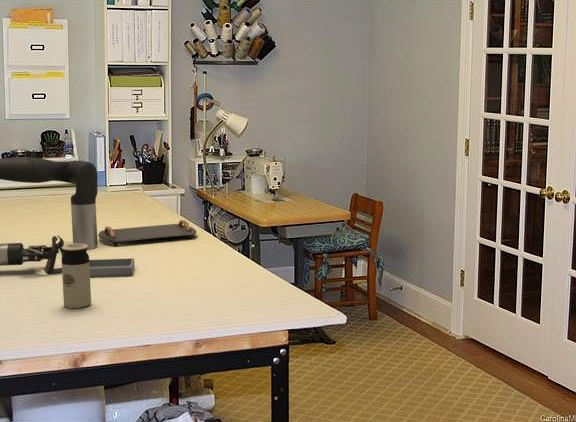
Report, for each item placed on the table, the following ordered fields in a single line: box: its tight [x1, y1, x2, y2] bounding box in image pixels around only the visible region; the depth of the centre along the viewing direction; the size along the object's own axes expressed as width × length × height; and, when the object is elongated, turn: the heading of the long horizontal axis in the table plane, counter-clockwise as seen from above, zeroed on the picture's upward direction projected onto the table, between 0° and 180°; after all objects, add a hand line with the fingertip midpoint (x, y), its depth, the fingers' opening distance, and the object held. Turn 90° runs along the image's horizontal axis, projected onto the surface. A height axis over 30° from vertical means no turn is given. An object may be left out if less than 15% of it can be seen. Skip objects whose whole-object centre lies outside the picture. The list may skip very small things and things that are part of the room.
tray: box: [89, 257, 135, 279], centre depth 315 cm, size 14×17×3 cm
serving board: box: [97, 219, 197, 247], centre depth 371 cm, size 39×23×6 cm, turn 115°
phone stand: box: [44, 234, 65, 275], centre depth 316 cm, size 9×6×12 cm, turn 114°
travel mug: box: [60, 243, 92, 309], centre depth 274 cm, size 8×8×18 cm
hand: (56, 252), depth 316 cm, fingers open, 8 cm apart
